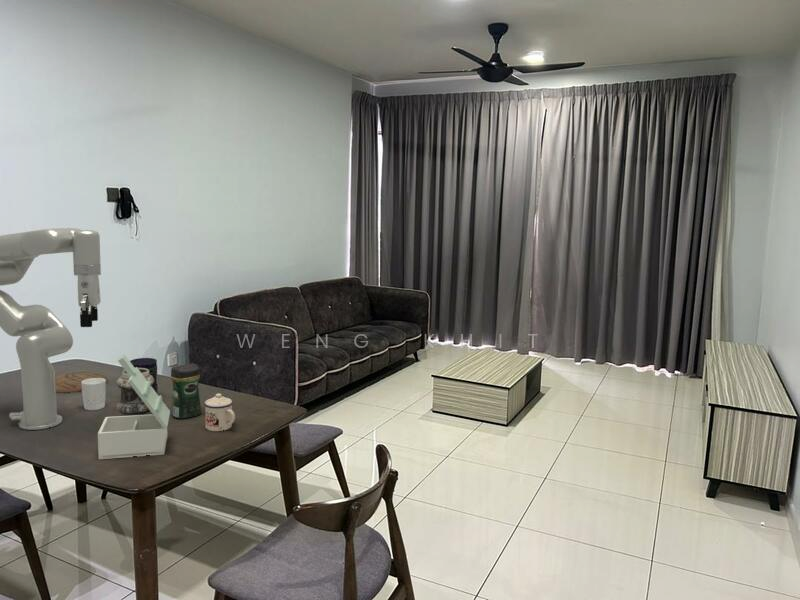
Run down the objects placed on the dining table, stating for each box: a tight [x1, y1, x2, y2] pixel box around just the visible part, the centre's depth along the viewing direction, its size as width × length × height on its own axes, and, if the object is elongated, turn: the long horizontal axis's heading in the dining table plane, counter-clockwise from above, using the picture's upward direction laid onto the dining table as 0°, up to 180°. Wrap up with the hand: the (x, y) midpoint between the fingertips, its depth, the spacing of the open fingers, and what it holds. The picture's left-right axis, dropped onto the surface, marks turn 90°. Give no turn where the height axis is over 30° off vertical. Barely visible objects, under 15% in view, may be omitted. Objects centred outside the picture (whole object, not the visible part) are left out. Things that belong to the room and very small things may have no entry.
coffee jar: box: [170, 362, 202, 420], centre depth 216 cm, size 10×8×19 cm
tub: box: [97, 414, 168, 460], centre depth 187 cm, size 18×14×8 cm
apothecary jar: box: [116, 368, 154, 416], centre depth 208 cm, size 12×12×18 cm
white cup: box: [81, 378, 107, 411], centre depth 220 cm, size 8×8×10 cm
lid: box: [117, 354, 171, 429], centre depth 185 cm, size 24×14×2 cm
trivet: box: [55, 371, 108, 394], centre depth 246 cm, size 25×25×2 cm
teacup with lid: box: [204, 393, 236, 432], centre depth 205 cm, size 12×9×12 cm
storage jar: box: [129, 357, 159, 394], centre depth 231 cm, size 10×10×15 cm
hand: (89, 323), depth 192 cm, fingers open, 9 cm apart
